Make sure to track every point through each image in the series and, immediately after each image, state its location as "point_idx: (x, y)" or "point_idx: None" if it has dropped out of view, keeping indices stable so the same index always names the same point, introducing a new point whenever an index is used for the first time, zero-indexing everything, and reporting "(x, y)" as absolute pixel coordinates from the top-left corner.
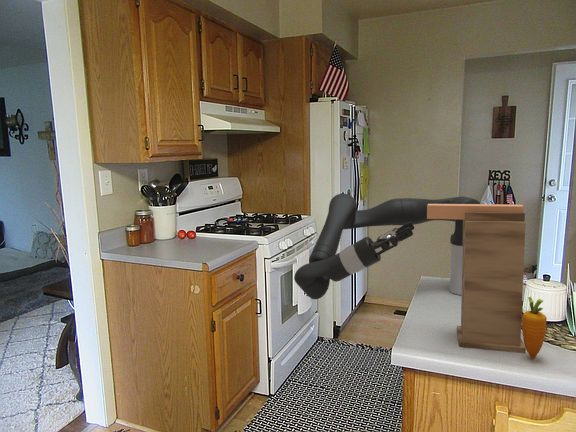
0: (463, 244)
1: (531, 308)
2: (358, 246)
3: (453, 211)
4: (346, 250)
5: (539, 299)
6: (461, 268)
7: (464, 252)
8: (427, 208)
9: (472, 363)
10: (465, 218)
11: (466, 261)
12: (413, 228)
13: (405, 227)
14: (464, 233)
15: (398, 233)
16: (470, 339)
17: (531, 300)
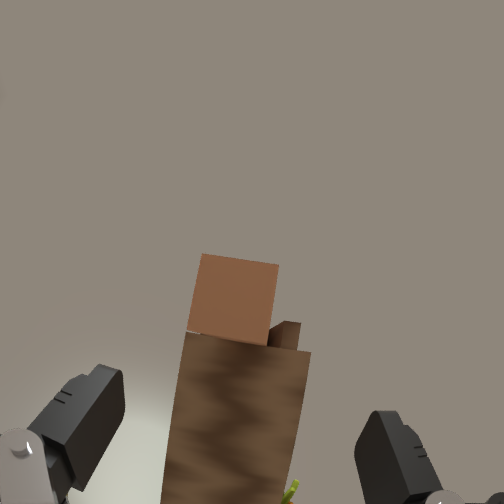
0: (212, 432)
1: (285, 500)
2: None
3: (271, 314)
4: None
5: (296, 480)
6: None
7: (263, 455)
8: (275, 283)
9: None
10: (296, 342)
11: (286, 476)
12: (121, 414)
13: (96, 421)
14: (256, 394)
15: (425, 478)
16: None
17: (291, 488)
